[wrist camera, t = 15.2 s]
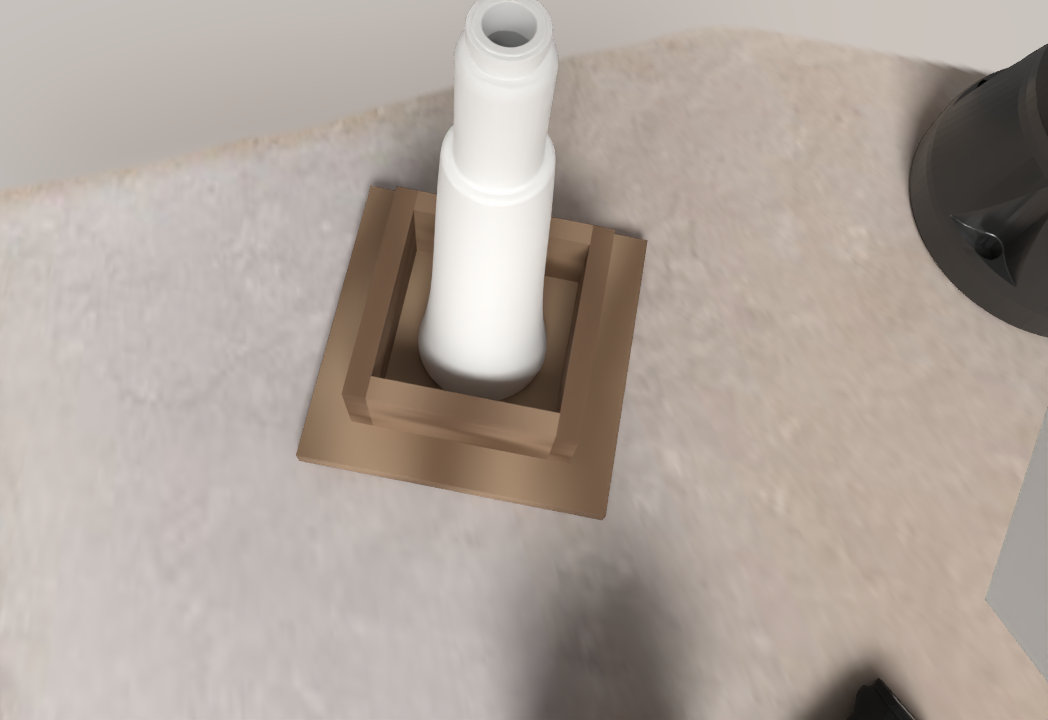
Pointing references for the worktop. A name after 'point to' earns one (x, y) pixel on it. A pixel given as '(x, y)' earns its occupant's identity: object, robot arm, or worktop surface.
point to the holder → (462, 420)
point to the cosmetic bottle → (493, 206)
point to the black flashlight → (878, 704)
